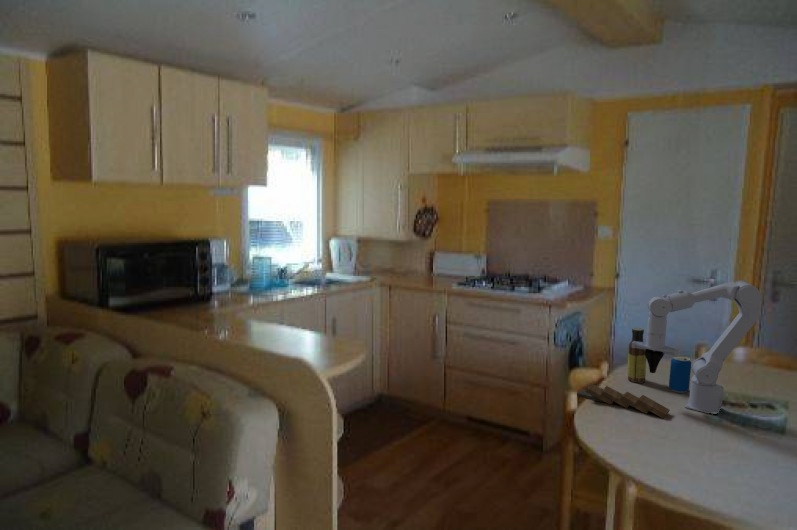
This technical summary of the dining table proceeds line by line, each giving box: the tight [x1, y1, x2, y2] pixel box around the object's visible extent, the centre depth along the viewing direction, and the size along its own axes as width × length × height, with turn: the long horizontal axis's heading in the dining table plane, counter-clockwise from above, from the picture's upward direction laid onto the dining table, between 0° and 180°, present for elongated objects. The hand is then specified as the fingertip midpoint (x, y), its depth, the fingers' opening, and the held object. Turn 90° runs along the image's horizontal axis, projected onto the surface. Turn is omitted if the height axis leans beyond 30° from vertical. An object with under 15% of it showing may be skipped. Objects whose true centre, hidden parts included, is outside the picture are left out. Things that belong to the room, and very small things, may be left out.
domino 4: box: [620, 391, 651, 415], centre depth 184 cm, size 2×5×9 cm
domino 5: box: [636, 394, 671, 419], centre depth 181 cm, size 2×5×9 cm
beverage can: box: [668, 355, 692, 394], centre depth 200 cm, size 6×6×12 cm
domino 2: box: [585, 382, 614, 406], centre depth 191 cm, size 2×5×9 cm
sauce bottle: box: [627, 327, 647, 384], centre depth 210 cm, size 7×6×20 cm
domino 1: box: [576, 388, 605, 403], centre depth 194 cm, size 2×5×9 cm
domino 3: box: [601, 385, 630, 409], centre depth 188 cm, size 2×5×9 cm
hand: (652, 372), depth 189 cm, fingers closed
